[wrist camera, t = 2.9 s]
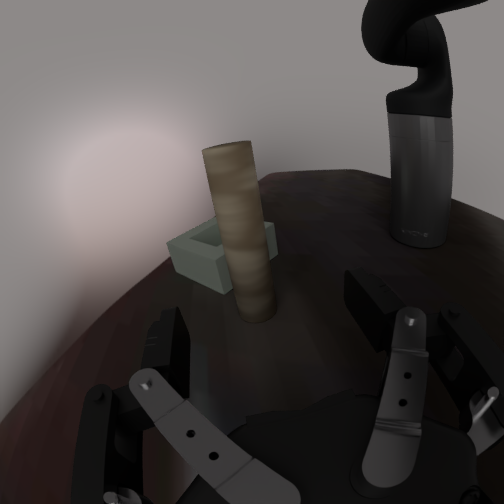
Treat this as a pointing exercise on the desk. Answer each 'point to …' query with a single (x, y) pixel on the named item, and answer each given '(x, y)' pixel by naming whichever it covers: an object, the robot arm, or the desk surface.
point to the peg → (242, 227)
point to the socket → (209, 255)
